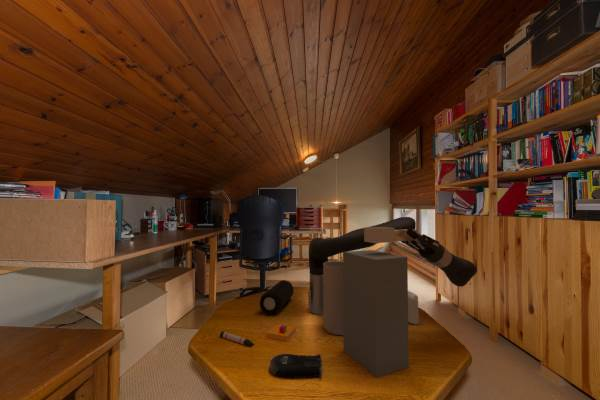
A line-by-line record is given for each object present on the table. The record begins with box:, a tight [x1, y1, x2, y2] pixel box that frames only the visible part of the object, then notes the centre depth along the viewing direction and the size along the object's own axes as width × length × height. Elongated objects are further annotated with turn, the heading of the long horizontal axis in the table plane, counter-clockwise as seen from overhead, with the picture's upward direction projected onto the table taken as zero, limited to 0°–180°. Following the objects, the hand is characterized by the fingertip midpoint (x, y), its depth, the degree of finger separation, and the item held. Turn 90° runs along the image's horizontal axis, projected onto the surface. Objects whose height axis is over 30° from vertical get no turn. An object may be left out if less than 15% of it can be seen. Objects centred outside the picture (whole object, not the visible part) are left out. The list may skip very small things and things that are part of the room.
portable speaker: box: [259, 279, 294, 315], centre depth 128 cm, size 26×10×10 cm, turn 166°
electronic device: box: [269, 353, 323, 379], centre depth 77 cm, size 9×6×15 cm
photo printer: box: [408, 290, 420, 325], centre depth 112 cm, size 10×4×12 cm, turn 39°
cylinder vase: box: [322, 260, 343, 336], centre depth 104 cm, size 12×12×25 cm
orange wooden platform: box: [266, 323, 296, 342], centre depth 98 cm, size 8×8×4 cm
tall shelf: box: [342, 249, 410, 378], centre depth 83 cm, size 12×16×32 cm
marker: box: [219, 331, 255, 347], centre depth 93 cm, size 15×2×2 cm, turn 59°
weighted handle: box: [363, 226, 418, 244], centre depth 88 cm, size 19×5×4 cm, turn 115°
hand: (403, 230), depth 90 cm, fingers closed on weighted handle, 3 cm apart
